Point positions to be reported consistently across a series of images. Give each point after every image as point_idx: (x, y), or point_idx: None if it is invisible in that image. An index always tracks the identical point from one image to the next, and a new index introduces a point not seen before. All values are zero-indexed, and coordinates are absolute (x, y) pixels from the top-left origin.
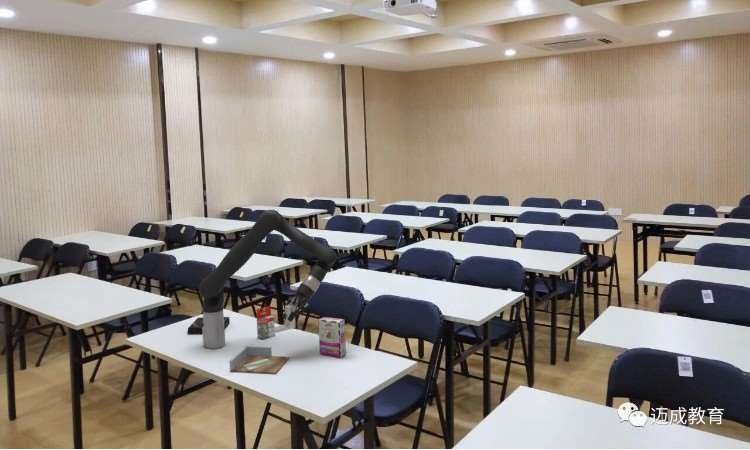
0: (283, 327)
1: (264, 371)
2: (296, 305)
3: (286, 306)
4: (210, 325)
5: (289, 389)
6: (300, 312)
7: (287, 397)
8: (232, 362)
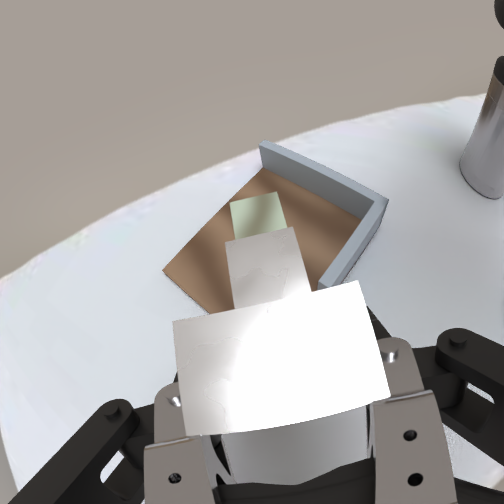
0: (252, 304)
1: (191, 241)
2: (144, 468)
3: (313, 304)
4: (482, 107)
5: (70, 274)
6: (128, 461)
7: (51, 257)
8: (260, 150)
